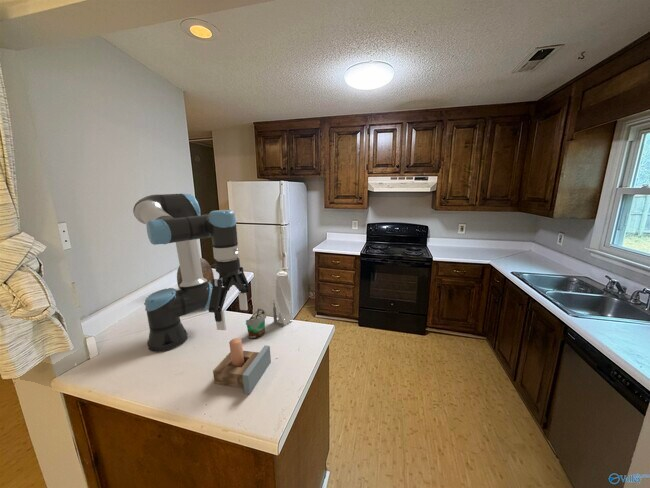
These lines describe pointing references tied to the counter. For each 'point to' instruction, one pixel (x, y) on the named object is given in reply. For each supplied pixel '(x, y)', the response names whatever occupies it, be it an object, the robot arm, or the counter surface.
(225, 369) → the block
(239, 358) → the dowel
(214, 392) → the counter surface
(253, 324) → the food container
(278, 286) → the skyscraper
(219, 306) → the robot arm
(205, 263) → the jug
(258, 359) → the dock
